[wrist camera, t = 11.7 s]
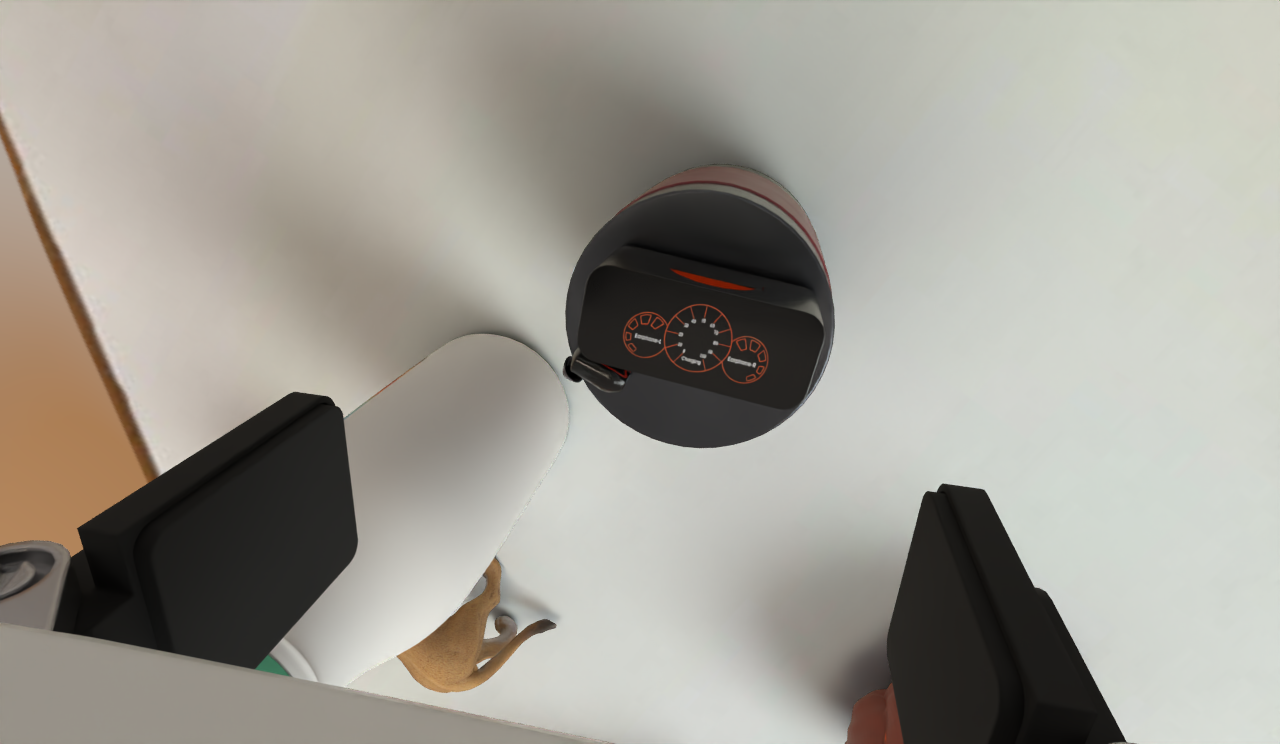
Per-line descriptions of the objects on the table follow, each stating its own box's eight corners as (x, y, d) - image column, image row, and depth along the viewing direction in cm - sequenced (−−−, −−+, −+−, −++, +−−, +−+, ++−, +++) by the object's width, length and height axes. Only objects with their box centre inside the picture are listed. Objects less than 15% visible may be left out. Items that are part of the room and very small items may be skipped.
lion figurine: (311, 535, 40) (188, 650, 31) (331, 463, 38) (206, 565, 29) (543, 649, 40) (482, 794, 31) (577, 582, 37) (521, 719, 29)
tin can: (626, 153, 29) (566, 174, 21) (835, 171, 28) (860, 201, 20) (615, 346, 32) (559, 431, 24) (803, 370, 31) (813, 468, 23)
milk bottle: (494, 296, 32) (124, 554, 14) (605, 417, 34) (399, 800, 15) (394, 390, 35) (-23, 707, 17) (500, 499, 36) (219, 904, 18)
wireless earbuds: (590, 231, 21) (560, 252, 18) (824, 286, 21) (831, 318, 18) (567, 369, 23) (536, 409, 20) (780, 424, 22) (781, 474, 19)
